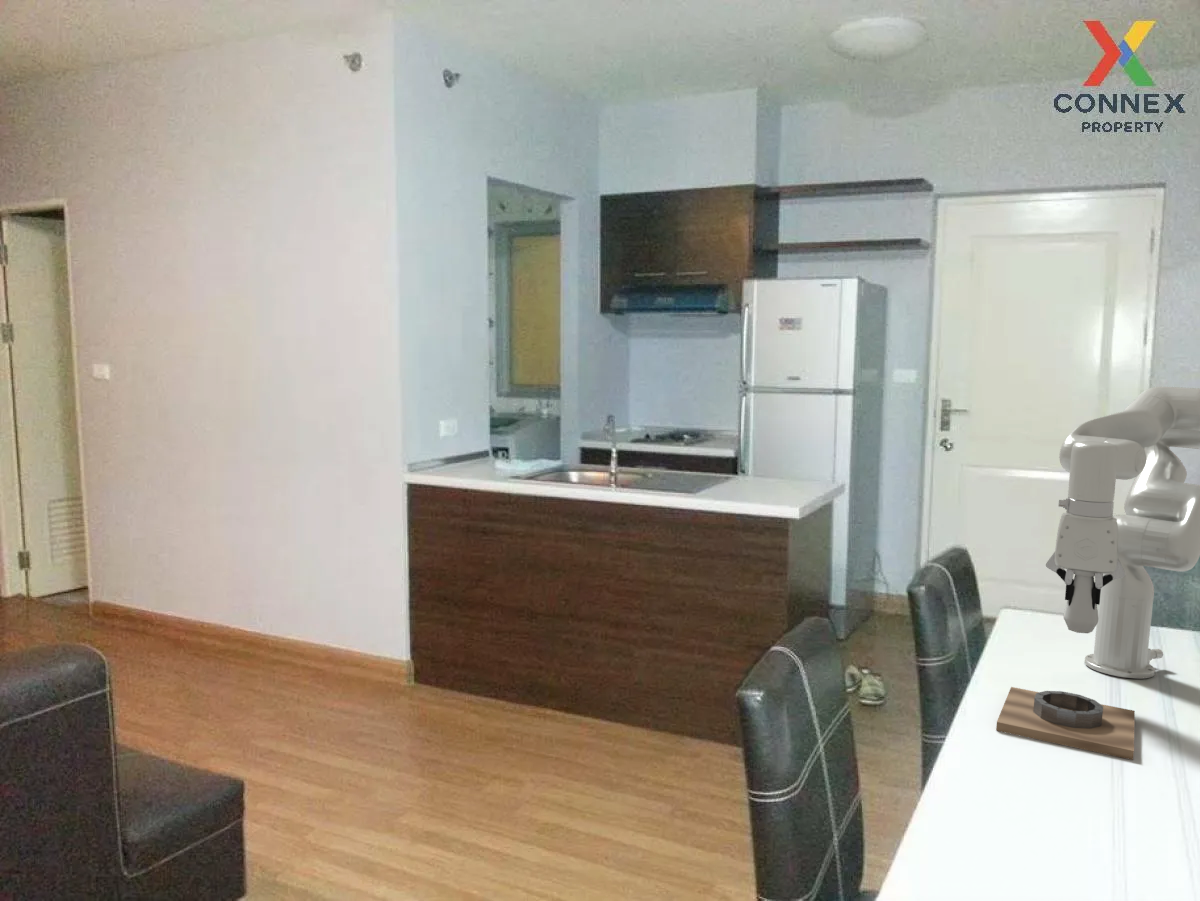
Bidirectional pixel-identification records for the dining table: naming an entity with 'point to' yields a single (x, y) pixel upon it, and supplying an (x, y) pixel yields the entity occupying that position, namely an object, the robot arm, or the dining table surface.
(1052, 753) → the dining table surface
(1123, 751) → the board
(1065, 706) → the collar
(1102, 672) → the robot arm
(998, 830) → the dining table surface
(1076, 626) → the salt shaker
